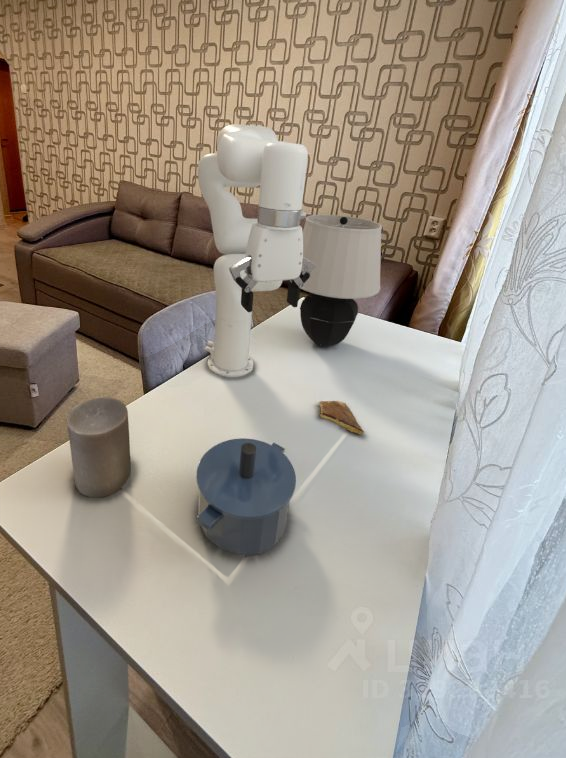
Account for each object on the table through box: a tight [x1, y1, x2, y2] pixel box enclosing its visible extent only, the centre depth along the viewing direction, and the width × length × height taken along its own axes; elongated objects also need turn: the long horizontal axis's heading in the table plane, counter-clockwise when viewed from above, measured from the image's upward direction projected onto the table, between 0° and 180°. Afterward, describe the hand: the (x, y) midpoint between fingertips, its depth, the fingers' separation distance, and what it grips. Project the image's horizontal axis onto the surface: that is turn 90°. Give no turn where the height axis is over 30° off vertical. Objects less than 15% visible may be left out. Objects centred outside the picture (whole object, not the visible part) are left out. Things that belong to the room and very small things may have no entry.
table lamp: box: [289, 214, 383, 348], centre depth 118 cm, size 27×27×40 cm
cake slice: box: [318, 400, 365, 435], centre depth 89 cm, size 11×8×2 cm
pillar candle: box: [66, 397, 132, 498], centre depth 68 cm, size 10×10×15 cm
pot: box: [196, 442, 291, 557], centre depth 64 cm, size 15×20×8 cm
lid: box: [195, 437, 297, 519], centre depth 62 cm, size 16×16×6 cm
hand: (269, 307), depth 76 cm, fingers open, 9 cm apart
